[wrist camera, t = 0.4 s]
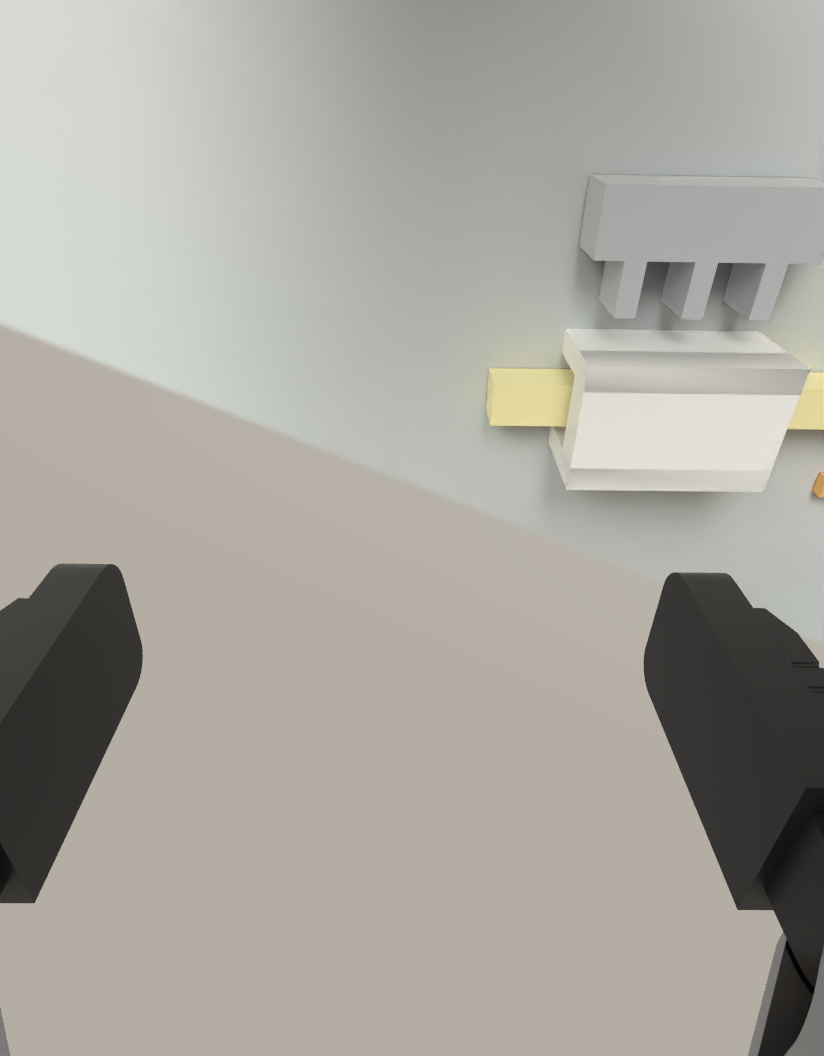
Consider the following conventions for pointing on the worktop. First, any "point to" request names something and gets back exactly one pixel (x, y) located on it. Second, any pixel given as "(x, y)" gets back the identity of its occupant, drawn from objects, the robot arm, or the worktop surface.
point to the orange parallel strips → (819, 485)
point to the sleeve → (675, 410)
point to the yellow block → (549, 394)
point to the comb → (701, 238)
